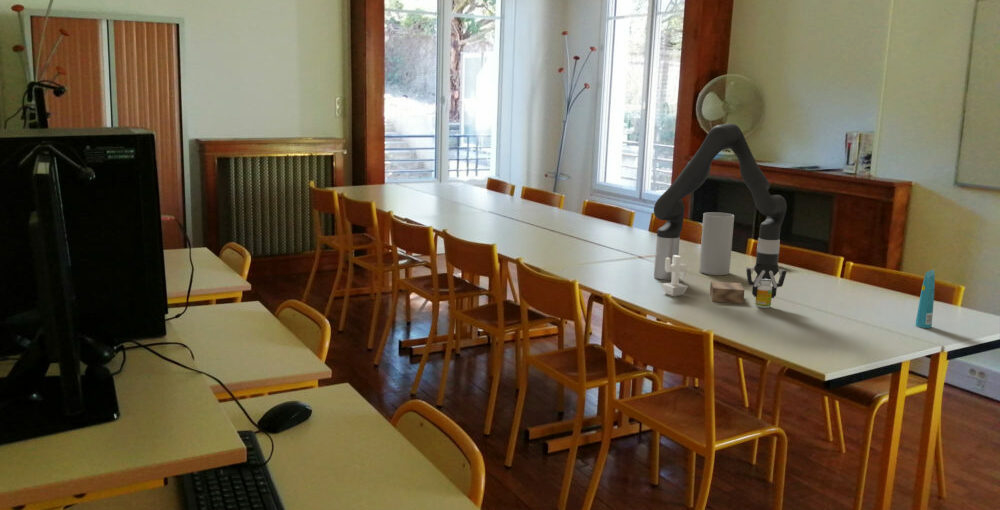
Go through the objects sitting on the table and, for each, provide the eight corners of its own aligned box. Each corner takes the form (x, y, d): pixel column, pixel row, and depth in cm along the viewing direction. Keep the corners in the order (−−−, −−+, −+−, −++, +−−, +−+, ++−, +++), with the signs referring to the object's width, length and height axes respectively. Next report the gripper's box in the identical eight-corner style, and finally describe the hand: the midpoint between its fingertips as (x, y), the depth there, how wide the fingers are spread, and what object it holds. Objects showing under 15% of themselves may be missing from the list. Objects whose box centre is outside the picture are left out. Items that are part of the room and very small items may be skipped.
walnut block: (712, 301, 305) (713, 288, 304) (709, 294, 316) (710, 281, 315) (743, 303, 303) (744, 290, 302) (739, 296, 314) (740, 283, 313)
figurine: (690, 295, 313) (692, 256, 310) (669, 297, 309) (672, 258, 306) (678, 291, 319) (680, 252, 316) (658, 293, 315) (660, 254, 312)
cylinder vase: (726, 270, 359) (731, 212, 354) (731, 276, 346) (736, 217, 341) (697, 268, 360) (701, 211, 355) (701, 275, 348) (705, 216, 343)
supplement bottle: (768, 309, 296) (770, 282, 294) (753, 306, 299) (755, 280, 297) (772, 305, 301) (774, 279, 299) (757, 303, 304) (759, 277, 302)
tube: (918, 322, 284) (925, 267, 280) (933, 325, 281) (941, 270, 277) (912, 327, 278) (919, 271, 274) (928, 330, 275) (935, 273, 271)
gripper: (748, 251, 293) (744, 298, 297) (790, 254, 291) (786, 300, 295) (745, 248, 301) (741, 293, 304) (786, 250, 299) (782, 295, 302)
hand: (763, 296), depth 299 cm, fingers closed on supplement bottle, 5 cm apart
